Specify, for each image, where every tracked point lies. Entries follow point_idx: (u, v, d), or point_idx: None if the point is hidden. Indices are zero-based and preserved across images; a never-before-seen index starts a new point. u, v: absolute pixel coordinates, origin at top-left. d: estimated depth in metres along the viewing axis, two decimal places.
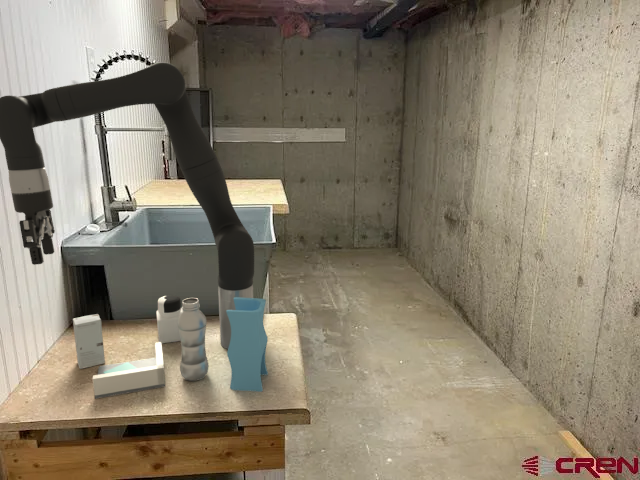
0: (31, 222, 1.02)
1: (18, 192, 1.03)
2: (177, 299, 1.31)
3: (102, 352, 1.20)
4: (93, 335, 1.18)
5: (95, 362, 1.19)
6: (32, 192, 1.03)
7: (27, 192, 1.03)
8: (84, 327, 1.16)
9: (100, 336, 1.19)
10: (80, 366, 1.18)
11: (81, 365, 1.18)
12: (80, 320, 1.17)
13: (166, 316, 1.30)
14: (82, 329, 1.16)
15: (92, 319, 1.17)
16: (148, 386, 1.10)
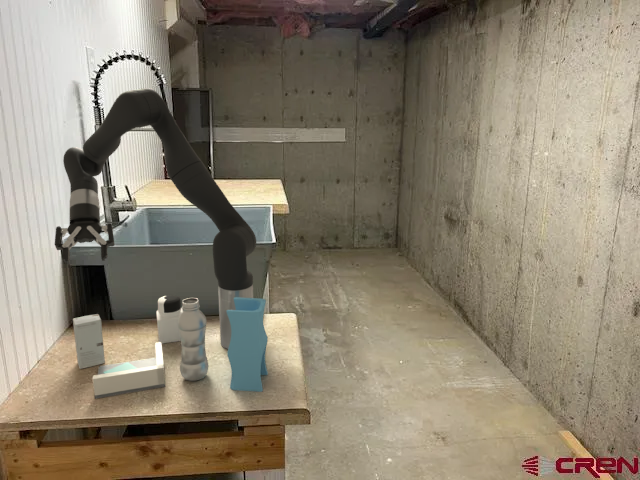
0: (56, 228, 1.27)
1: None
2: (177, 299, 1.31)
3: (102, 352, 1.20)
4: (93, 335, 1.18)
5: (95, 362, 1.19)
6: None
7: None
8: (84, 327, 1.16)
9: (100, 336, 1.19)
10: (80, 366, 1.18)
11: (81, 365, 1.18)
12: (80, 320, 1.17)
13: (166, 316, 1.30)
14: (82, 329, 1.16)
15: (92, 319, 1.17)
16: (148, 386, 1.10)
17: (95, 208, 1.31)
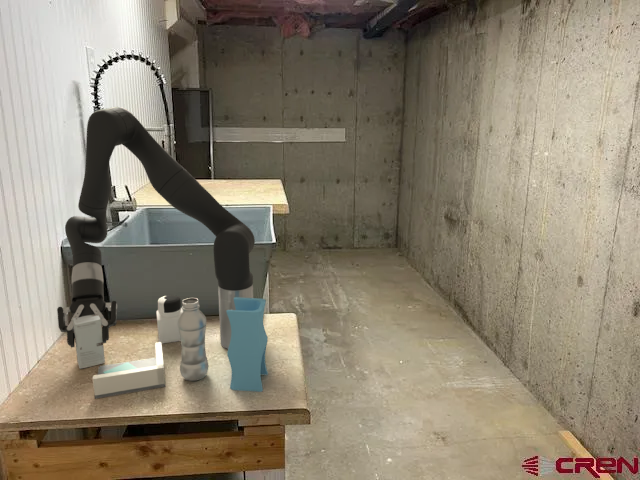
0: (57, 309, 1.19)
1: None
2: (177, 299, 1.31)
3: (102, 352, 1.20)
4: (93, 335, 1.18)
5: (95, 362, 1.19)
6: None
7: None
8: (84, 327, 1.16)
9: (100, 336, 1.19)
10: (80, 366, 1.18)
11: (81, 365, 1.18)
12: (80, 320, 1.17)
13: (166, 316, 1.30)
14: (82, 329, 1.16)
15: (92, 319, 1.17)
16: (148, 386, 1.10)
17: (99, 283, 1.24)
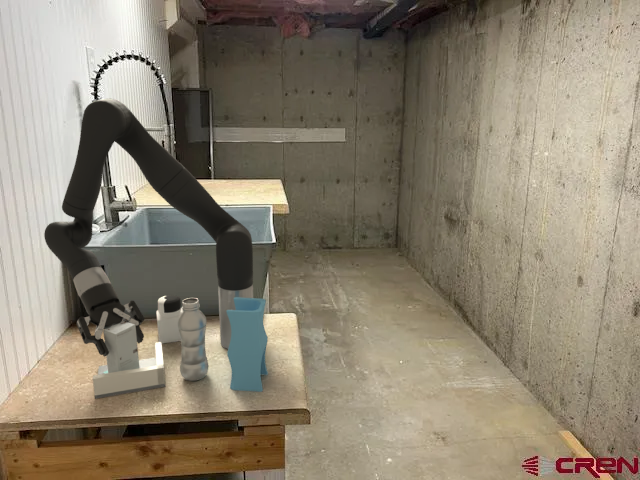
0: (79, 319, 1.09)
1: (80, 297, 1.14)
2: (177, 299, 1.31)
3: (137, 358, 1.15)
4: (130, 342, 1.13)
5: None
6: (83, 292, 1.12)
7: (81, 294, 1.13)
8: (122, 335, 1.11)
9: (135, 342, 1.14)
10: None
11: None
12: (115, 329, 1.10)
13: (166, 316, 1.30)
14: (121, 337, 1.10)
15: (127, 326, 1.12)
16: (148, 386, 1.10)
17: (112, 287, 1.16)
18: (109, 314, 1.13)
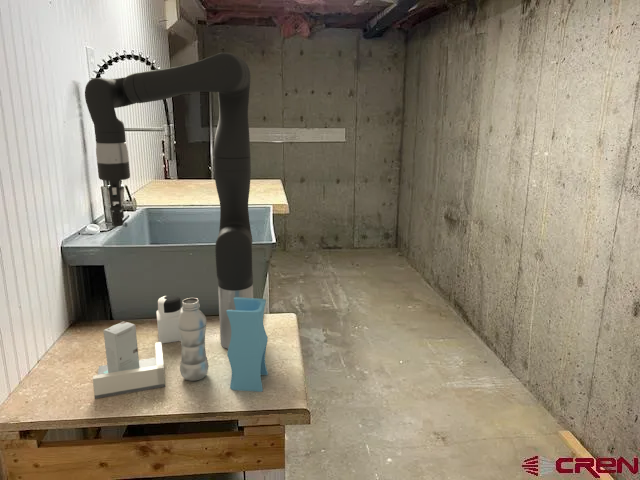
0: (118, 189, 1.18)
1: (106, 162, 1.18)
2: (177, 299, 1.31)
3: (137, 358, 1.15)
4: (130, 342, 1.13)
5: None
6: (118, 163, 1.19)
7: (114, 163, 1.19)
8: (122, 335, 1.11)
9: (135, 342, 1.14)
10: None
11: None
12: (115, 329, 1.10)
13: (166, 316, 1.30)
14: (121, 337, 1.10)
15: (127, 326, 1.12)
16: (148, 386, 1.10)
17: None
18: None
